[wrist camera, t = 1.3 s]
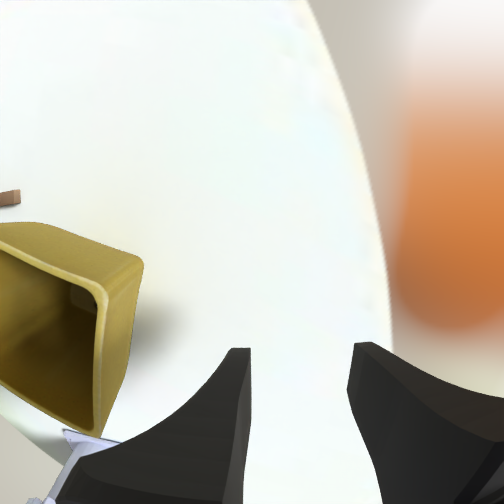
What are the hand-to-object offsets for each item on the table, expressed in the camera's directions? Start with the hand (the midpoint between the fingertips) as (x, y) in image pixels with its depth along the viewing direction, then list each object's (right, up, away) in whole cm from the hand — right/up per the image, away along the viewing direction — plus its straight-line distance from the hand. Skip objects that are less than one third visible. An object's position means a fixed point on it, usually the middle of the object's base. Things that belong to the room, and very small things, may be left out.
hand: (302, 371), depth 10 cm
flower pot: (-12, +2, +10) cm, 15 cm away
